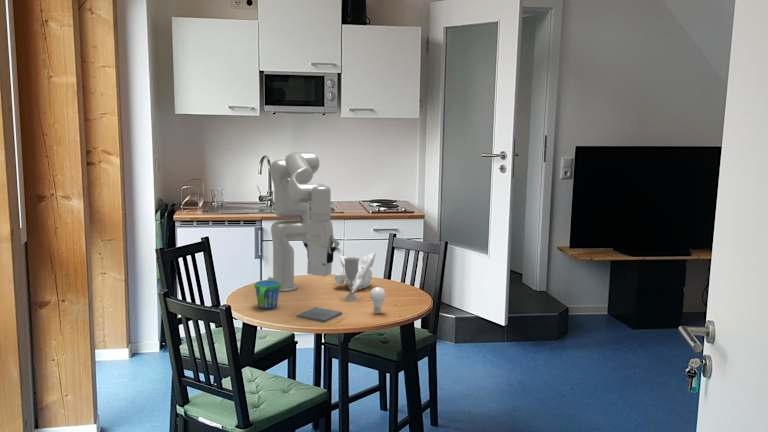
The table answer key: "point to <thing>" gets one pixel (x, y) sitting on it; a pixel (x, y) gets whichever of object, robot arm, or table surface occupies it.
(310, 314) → the charcoal mat
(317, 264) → the skincare box
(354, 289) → the white bumpy sculpture
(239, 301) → the table surface
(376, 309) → the lightbulb
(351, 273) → the chalice
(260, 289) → the snack cup
